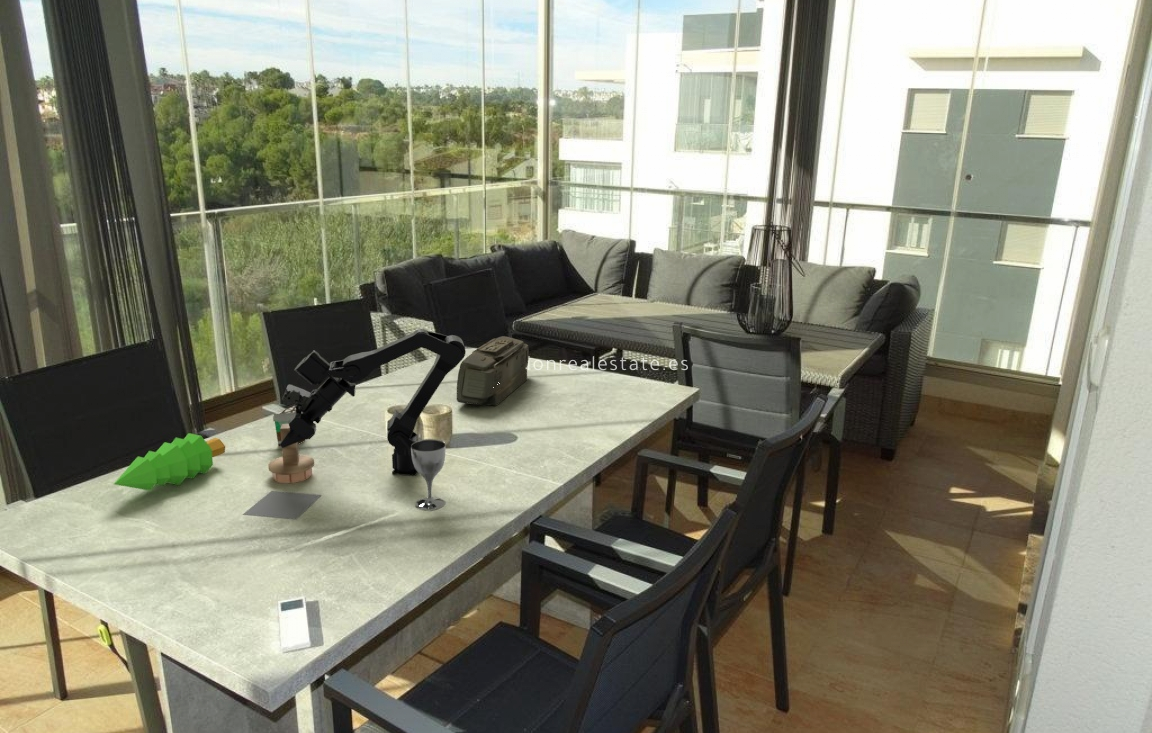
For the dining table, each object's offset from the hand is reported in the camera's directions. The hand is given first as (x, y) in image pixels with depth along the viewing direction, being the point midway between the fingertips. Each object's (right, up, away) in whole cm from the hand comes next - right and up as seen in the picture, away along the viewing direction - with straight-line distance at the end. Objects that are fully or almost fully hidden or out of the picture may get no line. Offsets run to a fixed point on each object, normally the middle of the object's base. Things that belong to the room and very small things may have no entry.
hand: (283, 439), depth 199 cm
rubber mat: (+5, -14, -13) cm, 20 cm away
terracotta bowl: (+1, -10, +3) cm, 10 cm away
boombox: (+46, +10, +77) cm, 90 cm away
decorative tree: (-27, -11, -2) cm, 30 cm away
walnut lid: (+1, -7, +2) cm, 7 cm away
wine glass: (+39, -15, -10) cm, 42 cm away
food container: (-6, -3, +27) cm, 28 cm away
